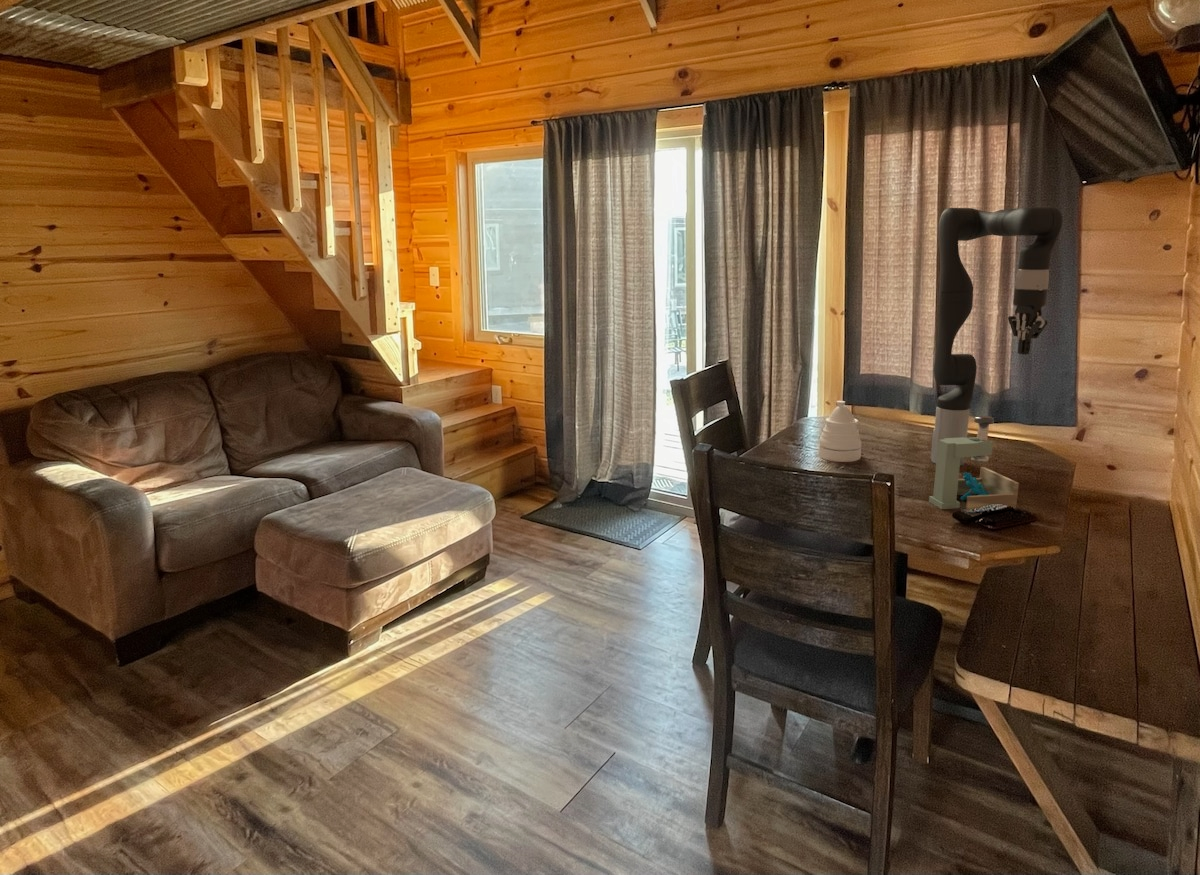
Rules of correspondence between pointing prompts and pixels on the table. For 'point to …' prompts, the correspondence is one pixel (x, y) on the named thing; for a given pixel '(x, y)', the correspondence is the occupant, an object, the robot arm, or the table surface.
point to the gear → (973, 486)
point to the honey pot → (840, 436)
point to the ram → (982, 434)
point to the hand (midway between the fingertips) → (1023, 353)
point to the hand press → (953, 467)
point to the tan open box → (991, 490)
